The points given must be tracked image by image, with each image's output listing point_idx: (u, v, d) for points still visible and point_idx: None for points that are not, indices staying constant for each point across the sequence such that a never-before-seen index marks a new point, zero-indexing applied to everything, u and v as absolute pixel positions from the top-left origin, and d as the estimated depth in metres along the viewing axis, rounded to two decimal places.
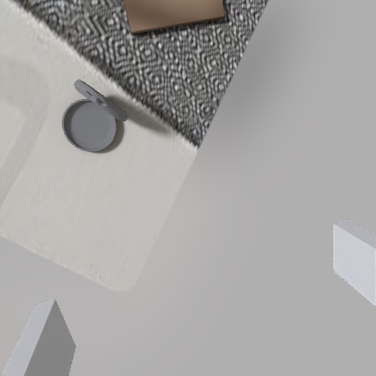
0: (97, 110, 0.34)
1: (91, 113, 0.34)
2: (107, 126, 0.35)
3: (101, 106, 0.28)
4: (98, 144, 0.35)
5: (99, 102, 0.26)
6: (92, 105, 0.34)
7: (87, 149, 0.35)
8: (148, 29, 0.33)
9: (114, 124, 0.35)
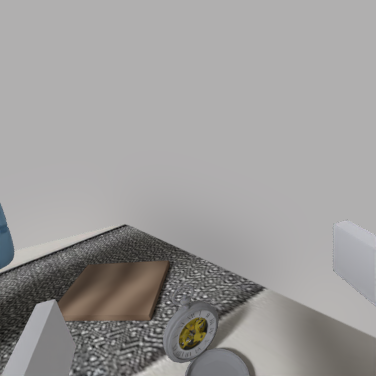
0: (202, 370, 0.28)
1: None
2: (223, 364, 0.28)
3: (193, 308, 0.27)
4: None
5: (188, 297, 0.27)
6: (195, 373, 0.28)
7: None
8: (153, 304, 0.38)
9: (222, 352, 0.29)
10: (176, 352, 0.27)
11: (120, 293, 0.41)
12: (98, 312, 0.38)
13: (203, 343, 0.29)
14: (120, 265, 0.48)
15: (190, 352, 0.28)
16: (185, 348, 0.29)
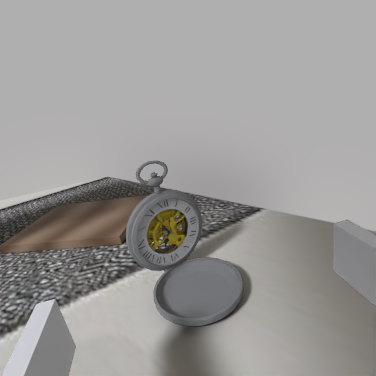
0: (180, 281, 0.21)
1: (181, 289, 0.21)
2: (208, 273, 0.22)
3: (166, 193, 0.20)
4: (232, 287, 0.20)
5: (159, 176, 0.20)
6: (171, 285, 0.21)
7: None
8: None
9: (207, 261, 0.22)
10: (144, 252, 0.20)
11: (89, 222, 0.34)
12: (59, 239, 0.31)
13: (182, 249, 0.22)
14: (94, 202, 0.41)
15: (163, 257, 0.21)
16: None
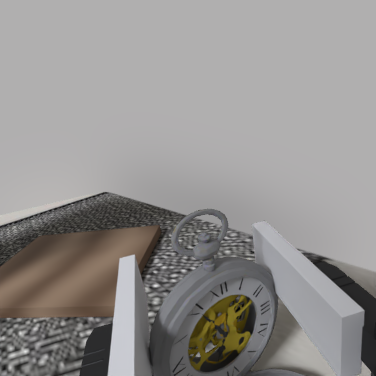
0: None
1: None
2: None
3: (226, 270, 0.11)
4: None
5: (213, 240, 0.10)
6: None
7: None
8: None
9: None
10: None
11: (75, 272, 0.24)
12: (30, 303, 0.21)
13: (245, 356, 0.13)
14: (86, 234, 0.31)
15: None
16: (203, 367, 0.13)
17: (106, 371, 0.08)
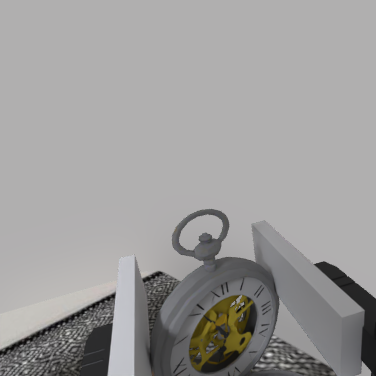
0: None
1: None
2: None
3: (227, 270, 0.11)
4: None
5: (214, 240, 0.10)
6: None
7: None
8: None
9: None
10: None
11: None
12: None
13: (245, 357, 0.13)
14: None
15: None
16: (204, 367, 0.13)
17: (106, 371, 0.08)
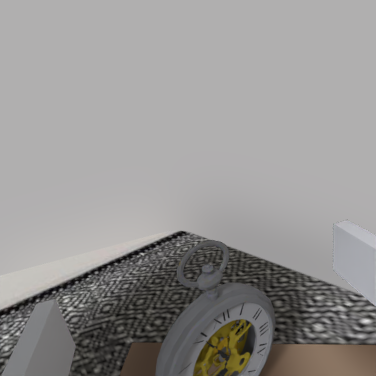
0: None
1: None
2: None
3: (228, 298, 0.11)
4: None
5: (216, 270, 0.11)
6: None
7: None
8: None
9: None
10: None
11: None
12: None
13: None
14: None
15: None
16: None
17: None
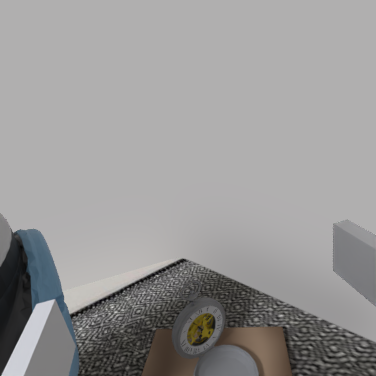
0: (210, 366, 0.29)
1: (212, 374, 0.28)
2: (231, 359, 0.29)
3: (201, 304, 0.28)
4: None
5: (195, 292, 0.27)
6: (204, 369, 0.28)
7: None
8: None
9: (230, 348, 0.30)
10: (185, 348, 0.28)
11: None
12: None
13: (211, 339, 0.29)
14: None
15: (198, 348, 0.29)
16: (193, 344, 0.29)
17: None
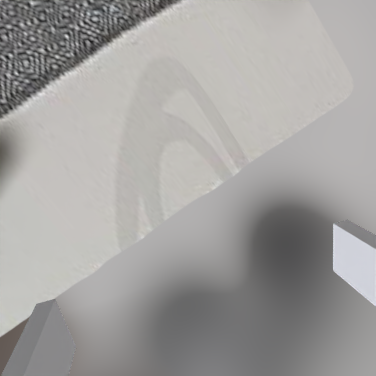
0: None
1: None
2: None
3: None
4: None
5: None
6: None
7: None
8: None
9: None
10: None
11: None
12: None
13: None
14: None
15: None
16: None
17: None
